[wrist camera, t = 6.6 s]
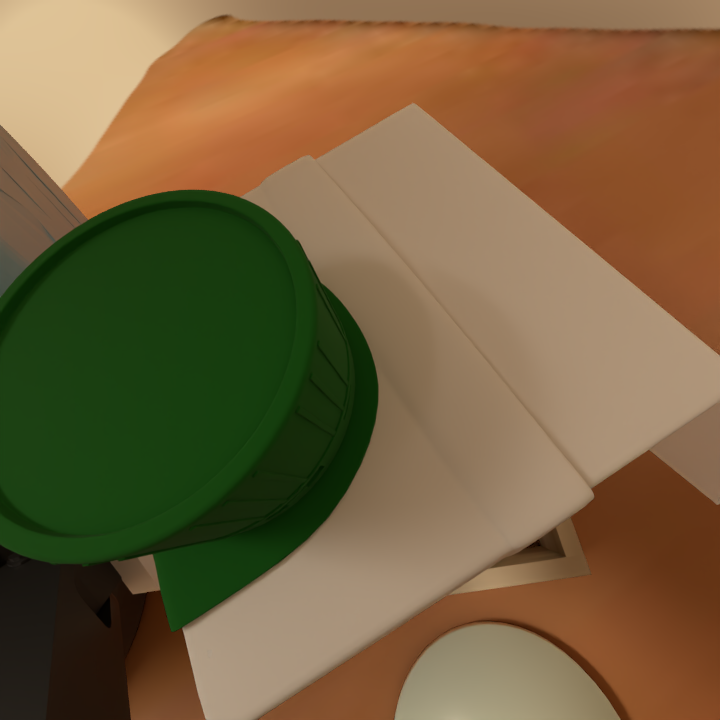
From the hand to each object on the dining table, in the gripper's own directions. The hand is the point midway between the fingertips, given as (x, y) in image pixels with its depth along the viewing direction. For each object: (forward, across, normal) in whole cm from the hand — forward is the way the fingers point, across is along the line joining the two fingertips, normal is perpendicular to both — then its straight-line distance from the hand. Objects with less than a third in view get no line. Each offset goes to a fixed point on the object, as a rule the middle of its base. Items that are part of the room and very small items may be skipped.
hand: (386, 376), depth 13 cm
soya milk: (+6, 0, -8) cm, 10 cm away
